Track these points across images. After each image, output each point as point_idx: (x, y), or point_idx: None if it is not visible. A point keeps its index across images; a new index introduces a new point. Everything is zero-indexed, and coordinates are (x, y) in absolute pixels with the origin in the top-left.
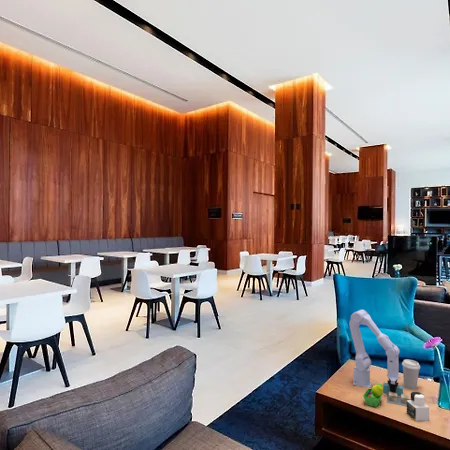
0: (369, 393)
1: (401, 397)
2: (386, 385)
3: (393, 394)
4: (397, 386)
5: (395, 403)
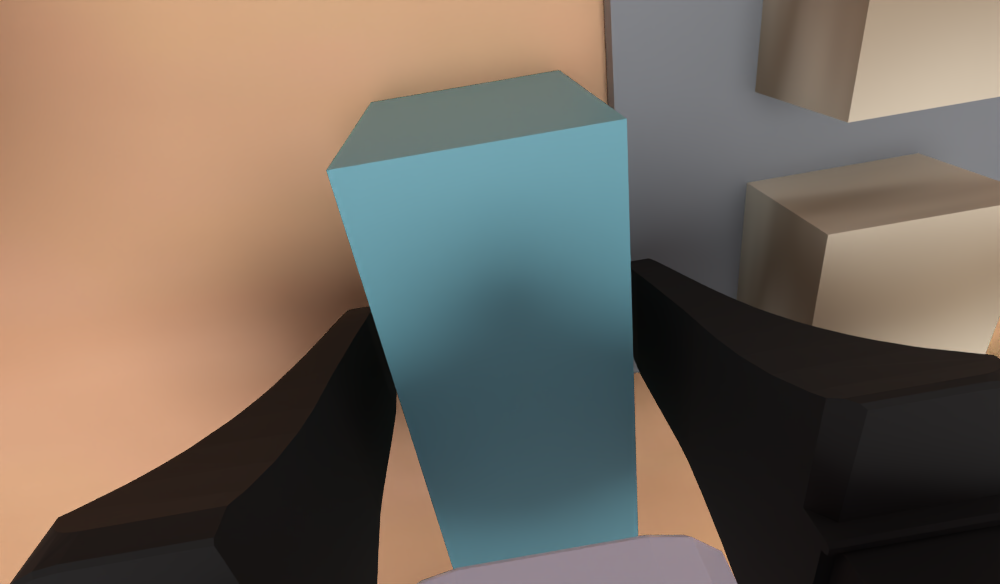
0: None
1: None
2: (617, 525)
3: (932, 295)
4: (519, 315)
5: (995, 173)
